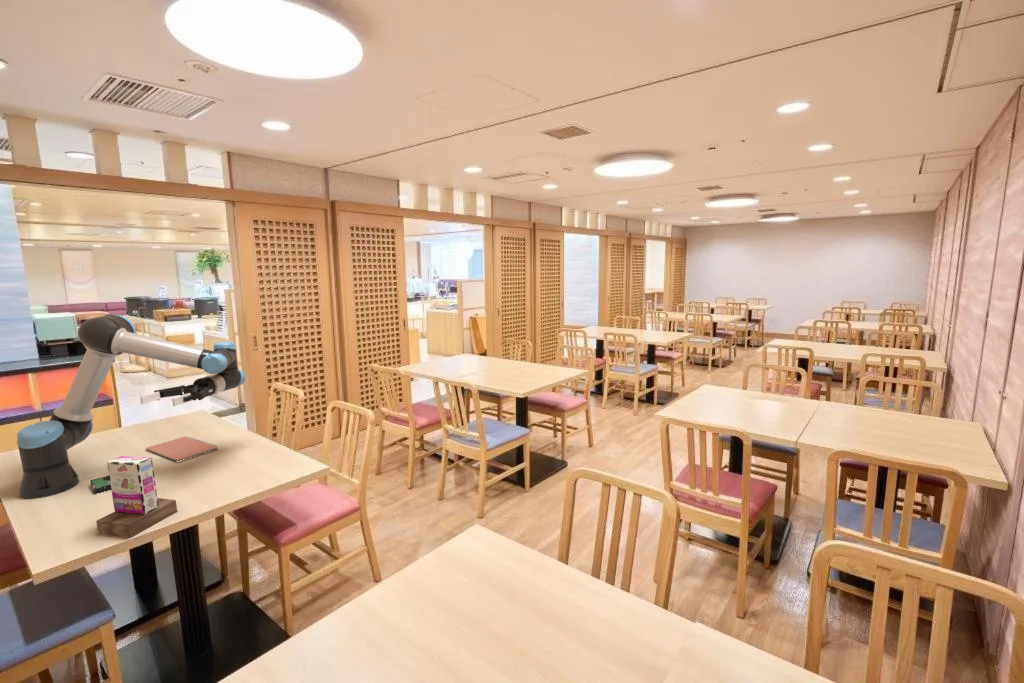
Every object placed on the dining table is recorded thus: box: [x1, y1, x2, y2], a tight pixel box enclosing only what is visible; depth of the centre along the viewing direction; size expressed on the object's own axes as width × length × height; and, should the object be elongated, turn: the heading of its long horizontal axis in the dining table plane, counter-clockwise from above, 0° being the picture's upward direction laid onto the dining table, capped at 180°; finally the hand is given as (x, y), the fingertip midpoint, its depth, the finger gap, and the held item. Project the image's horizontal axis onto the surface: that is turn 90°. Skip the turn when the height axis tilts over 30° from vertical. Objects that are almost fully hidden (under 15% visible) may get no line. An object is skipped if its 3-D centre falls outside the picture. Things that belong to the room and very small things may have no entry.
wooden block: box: [95, 497, 178, 538], centre depth 144 cm, size 12×15×4 cm
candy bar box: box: [106, 455, 158, 515], centre depth 143 cm, size 11×5×16 cm, turn 80°
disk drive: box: [89, 475, 112, 495], centre depth 172 cm, size 10×3×15 cm
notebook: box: [145, 436, 218, 462], centre depth 203 cm, size 27×17×2 cm, turn 60°
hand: (157, 401), depth 162 cm, fingers open, 13 cm apart
